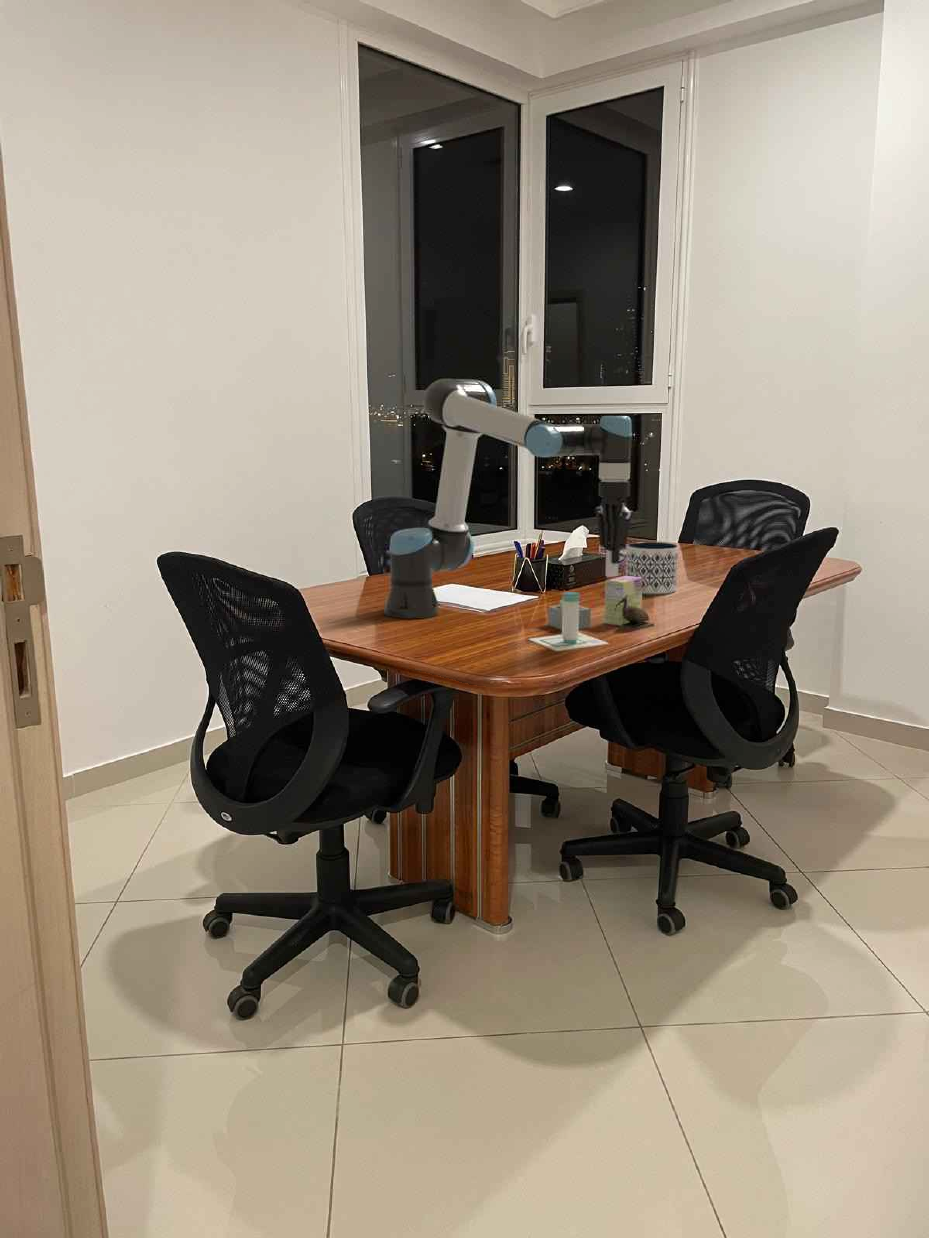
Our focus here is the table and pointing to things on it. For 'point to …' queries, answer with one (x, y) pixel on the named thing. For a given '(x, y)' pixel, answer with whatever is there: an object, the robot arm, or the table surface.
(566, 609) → the white teal cylinder
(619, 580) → the box
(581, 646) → the sheet
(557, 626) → the button box
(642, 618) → the figurine
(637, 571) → the planter
